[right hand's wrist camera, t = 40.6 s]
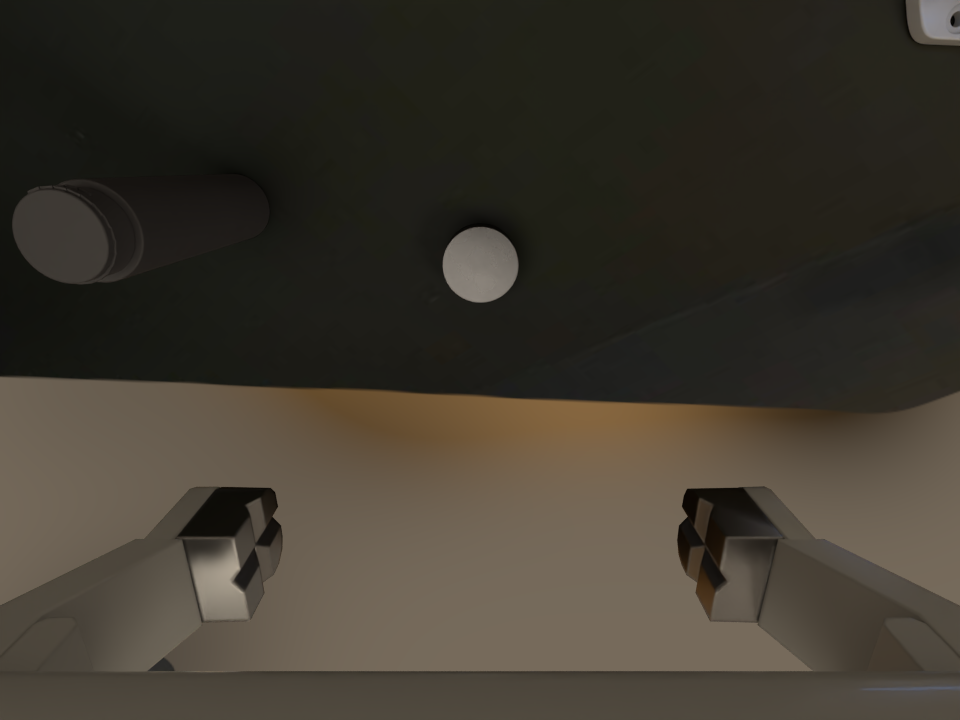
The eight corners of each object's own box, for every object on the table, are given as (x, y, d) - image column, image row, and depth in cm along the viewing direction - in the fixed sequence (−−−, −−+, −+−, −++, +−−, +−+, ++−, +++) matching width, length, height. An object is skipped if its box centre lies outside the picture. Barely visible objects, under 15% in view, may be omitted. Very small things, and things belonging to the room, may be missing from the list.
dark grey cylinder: (280, 227, 38) (137, 271, 22) (225, 248, 39) (46, 305, 23) (251, 164, 37) (75, 163, 21) (194, 186, 37) (-21, 202, 21)
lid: (528, 277, 39) (530, 283, 37) (463, 307, 40) (463, 314, 38) (498, 210, 38) (499, 213, 36) (431, 243, 38) (429, 247, 36)
